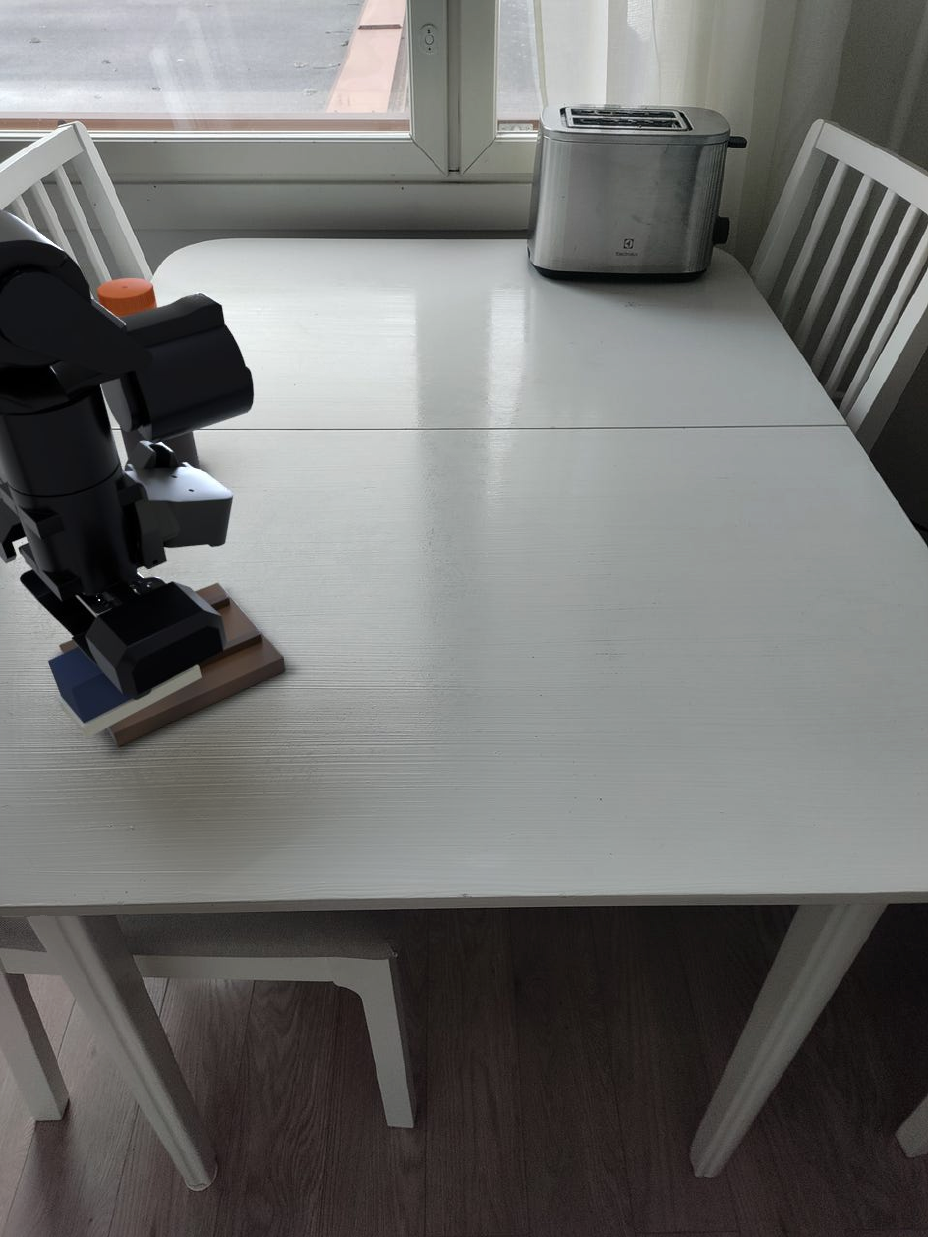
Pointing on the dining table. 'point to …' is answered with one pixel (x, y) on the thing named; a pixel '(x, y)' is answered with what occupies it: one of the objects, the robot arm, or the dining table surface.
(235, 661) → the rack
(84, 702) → the stepped navy block
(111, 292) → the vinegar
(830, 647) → the dining table surface
